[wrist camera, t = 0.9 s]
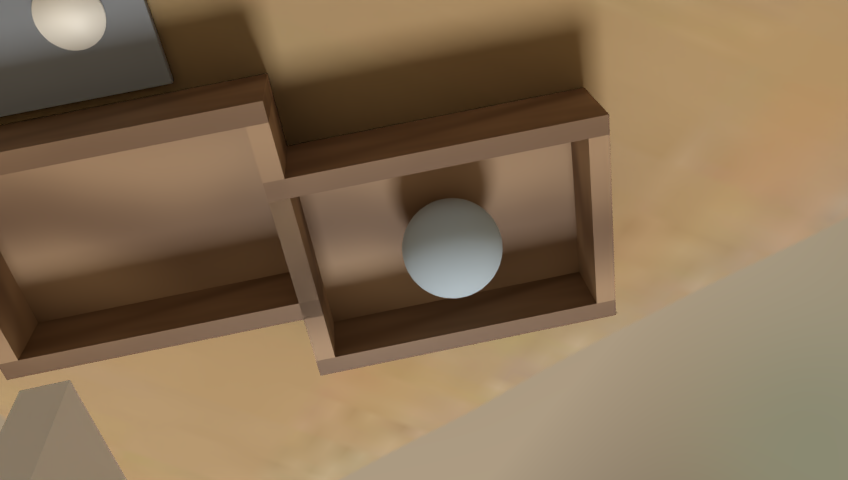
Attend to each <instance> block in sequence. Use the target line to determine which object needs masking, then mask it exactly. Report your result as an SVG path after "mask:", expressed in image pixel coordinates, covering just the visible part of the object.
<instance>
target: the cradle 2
mask: <svg viewBox="0 0 848 480" xmlns="http://www.w3.org/2000/svg"><path fill="white" fill-rule="evenodd" d="M263 186H264V189H265V193H266V195H267V199H268V200H269V201H268V202H269V204H272V205H271V206H273V207H271V206H270V205H269V206H270V209H271V212H273V213H274V214H272V216H274V215H275V212H276V213H277V210H278V209H279V210H278V213H277V214H278V215H277V214H276V217H275V219H274V217H273V219H274V222H276V220H277V218H278V217H279V216H280V217H279V218H281V221H280V219H279V218H278V220H277V223H275V224H276V225H275V226H276V229H277V231H278V230H279V235H278V236H279V238H280V242H281V246H282V245H283V246H282V249H283V252H284V256H285V259H287V260H286V262H287V266H288V269H289V271H290V273H291V274H290V276H291V279H292V282H293V281H295V283H296V285H297V287H296V285H295V284H293V285H295V286H294V287H295V288H294V289H295V291H296V292H297V291H298V290H299V289H297V288H300V292H297V294H296V295H297V299H299V297H298V296H300V299H299V302H300V303H299V305H300V304H301V303H302V302H303V303H302V304H301V306H300V309H302V308H303V309H302V310H301V312H303V310H304V313H305V314H304V313H303V314H302V315H303V319H304V317H305V319H304V322H305V325H306V329H307V332H308V335H309V339H310V342H311V345H312V349H313V352H314V355H315V359H316V362H317V365H318V369H319V372H320V375H326V374H331V373H336V372H341V371H346V370H350V369H355V368H360V367H365V366H370V365H375V364H380V363H384V362H389V361H394V360H399V359H404V358H409V357H414V356H418V355H423V354H428V353H433V352H438V351H443V350H448V349H452V348H457V347H462V346H467V345H472V344H477V343H482V342H486V341H491V340H496V339H501V338H506V337H511V336H516V335H521V334H525V333H530V332H535V331H540V330H545V329H550V328H555V327H559V326H564V325H569V324H574V323H579V322H584V321H589V320H593V319H598V318H603V317H608V316H613V315H616V302H615V274H614V245H613V216H612V187H611V158H610V129H609V114H608V113H607V112H606V111H605V110H604V109H603V107H602V106H601V105H600V104H599V103H598V102H597V101H596V100H595V99H594V98H593V97H592V96H591V95H590V93H589V92H588V91H587V90H586V89H585V88H579V89H574V90H569V91H564V92H559V93H554V94H549V95H544V96H539V97H534V98H529V99H524V100H519V101H513V102H508V103H503V104H498V105H493V106H488V107H483V108H478V109H473V110H468V111H463V112H458V113H453V114H448V115H443V116H438V117H432V118H427V119H422V120H417V121H412V122H407V123H402V124H397V125H392V126H387V127H382V128H377V129H372V130H367V131H362V132H357V133H352V134H346V135H341V136H336V137H331V138H326V139H321V140H316V141H311V142H306V143H301V144H296V145H291V146H287V155H286V168H285V179H282V180H280V182H279V180H277V181H272V182H267V183H263ZM270 186H271V187H270ZM274 186H275V187H274ZM284 186H285V187H284ZM276 187H277V188H276ZM286 188H287V189H286ZM281 193H282V194H281ZM285 194H286V195H285ZM272 196H273V197H272ZM285 197H286V198H285ZM446 198H459V199H464V200H468V201H471V202H473V203H475V204H477V205H479V206H480V207H482V208H483V209H484V210H485V211H486V212H488V213H489V214H490V215H491V217H492V218H493V219H494V221H495V223H496V224H497V226H498V228H499V231H500V234H501V238H502V247H503V252H502V258H501V262H500V266H499V268H498V270H497V272H496V274H495V276H494V277H493V278H492V280H491V281H490V282H489V283H488V284H487V285H486V286H485V287H484V288H482V289H481V290H479V291H478V292H476V293H474V294H472V295H469V296H466V297H462V298H443V297H439V296H435V295H433V294H431V293H429V292H427V291H425V290H424V289H422V288H421V287H420V286H419V285H418V284H417V283H416V282H415V281H414V280H413V279H412V277H411V276H410V274H409V273H408V271H407V269H406V266H405V263H404V260H403V254H402V242H403V237H404V233H405V230H406V228H407V226H408V224H409V222H410V221H411V219H412V218H413V216H414V215H415V214H416V213H417V212H418V211H419V210H420V209H422V208H423V207H425V206H426V205H428V204H430V203H432V202H434V201H437V200H440V199H446ZM277 199H278V200H277ZM285 199H287V200H285ZM281 200H282V206H281ZM284 200H285V201H286V202H285V201H284ZM289 200H291V201H290V202H288V201H289ZM275 201H276V203H275ZM277 202H278V206H279V207H278V206H276V205H277ZM284 202H285V203H286V204H285V203H284ZM273 203H274V204H273ZM291 203H292V204H291ZM283 204H284V205H283ZM280 206H281V207H280ZM291 206H292V207H291ZM276 207H277V208H276ZM284 207H285V208H284ZM290 207H291V208H290ZM272 208H273V209H272ZM292 208H293V211H292ZM274 209H275V211H273V210H274ZM280 209H281V212H282V213H281V212H279V211H280ZM282 209H283V210H282ZM284 210H285V213H283V212H284ZM288 210H289V211H288ZM291 211H292V213H290V212H291ZM287 212H288V213H287ZM293 212H294V213H293ZM279 213H280V215H279ZM289 214H290V218H289ZM293 214H294V218H293V217H292V216H293ZM281 215H283V216H281ZM285 215H287V216H286V219H285V221H284V218H285ZM277 216H278V217H277ZM291 218H292V220H291ZM282 219H283V220H282ZM287 219H288V220H289V221H287ZM295 219H296V220H295ZM294 220H295V222H294ZM279 221H280V225H279ZM286 221H287V224H286ZM290 222H291V225H294V223H295V225H294V226H292V229H290V228H291V225H290ZM282 223H283V224H284V225H283V224H282ZM296 223H297V225H296ZM281 224H282V227H281ZM285 224H286V226H285ZM277 226H278V227H277ZM279 226H280V229H281V231H280V229H278V228H279ZM287 226H288V227H287ZM289 226H290V227H289ZM295 226H296V229H295ZM285 227H286V228H285ZM283 228H284V230H283ZM287 228H288V229H287ZM297 228H298V230H297ZM285 229H286V230H287V231H286V230H285ZM293 229H294V232H293V236H292V231H293ZM290 230H291V232H290ZM297 231H298V232H297ZM288 232H289V234H288ZM296 232H297V233H296ZM284 233H286V235H285V234H284ZM299 233H300V234H299ZM295 234H296V236H297V237H296V236H295ZM280 235H281V237H280ZM282 235H285V236H286V237H285V236H284V238H283V236H282ZM298 235H299V236H300V237H299V236H298ZM287 236H288V239H287ZM294 236H295V237H294ZM293 237H294V239H293ZM285 238H286V242H288V243H286V242H285ZM297 238H298V242H297ZM281 239H282V241H281ZM289 239H290V240H289ZM301 239H302V240H301ZM283 240H284V241H283ZM287 240H288V241H287ZM295 240H296V243H295ZM299 240H300V241H299ZM289 242H291V243H289ZM292 242H294V243H295V246H294V243H293V244H292ZM299 242H300V243H299ZM301 242H302V243H301ZM297 243H298V244H299V245H298V244H297ZM284 244H285V245H284ZM286 244H287V248H286ZM290 244H291V246H290ZM301 244H303V245H301ZM292 245H293V247H292ZM288 246H289V248H290V249H289V248H288ZM296 246H297V249H296ZM283 247H284V248H283ZM300 247H301V248H300ZM303 247H304V248H303ZM291 248H295V249H294V250H293V249H292V253H291ZM287 249H289V251H288V252H287V251H286V250H287ZM295 250H296V253H295ZM298 250H300V251H298ZM297 251H298V252H299V253H298V252H297ZM301 251H302V253H303V254H301ZM285 252H286V253H287V256H286V254H285ZM289 253H291V255H290V254H289ZM293 253H294V256H293V255H292V254H293ZM305 253H306V255H305ZM289 255H290V256H291V257H290V256H289ZM296 255H298V256H297V257H296ZM303 255H304V256H303ZM288 256H289V257H288ZM300 256H301V258H300ZM295 257H296V258H295ZM298 257H299V259H298ZM306 257H307V258H306ZM288 258H289V260H288ZM304 258H305V259H304ZM294 259H295V260H294ZM301 259H302V260H303V261H302V260H301ZM293 260H294V262H293ZM306 260H307V261H306ZM291 261H292V262H291ZM295 261H296V262H295ZM299 261H300V262H299ZM304 261H305V262H306V264H305V263H304ZM297 262H298V264H297ZM290 263H291V264H290ZM303 263H304V265H303ZM294 264H296V267H294V266H295V265H294ZM299 264H300V268H301V267H302V269H303V270H302V269H301V272H300V268H298V267H299V266H297V265H299ZM305 265H306V266H307V268H306V269H305V274H304V268H305ZM292 266H293V267H292ZM290 267H291V270H290ZM293 268H296V269H295V271H294V269H293ZM309 268H310V270H308V269H309ZM297 270H298V271H297ZM292 271H293V272H292ZM296 271H297V273H296V274H295V273H294V272H296ZM307 271H308V272H309V274H308V272H307ZM299 273H300V274H301V275H299ZM302 274H303V275H302ZM306 274H308V275H306ZM310 274H311V275H310ZM309 275H310V276H309ZM297 276H298V277H297ZM301 276H302V277H301ZM303 276H304V277H305V278H306V279H307V277H308V280H310V281H311V283H310V284H311V285H309V286H310V288H308V289H307V286H308V285H307V284H308V282H310V281H308V280H306V279H305V278H303ZM311 276H312V279H311ZM292 277H293V278H292ZM295 277H296V278H295ZM299 278H301V279H299ZM302 279H305V281H304V280H303V281H302ZM300 280H301V281H300ZM319 280H320V281H321V282H320V283H321V286H320V287H321V288H322V287H323V290H322V291H323V314H322V309H321V306H320V308H319V304H320V302H319ZM297 281H299V282H300V285H298V282H297ZM312 281H314V282H312ZM306 282H307V284H306ZM293 283H294V282H293ZM312 283H313V284H314V285H313V288H314V290H312V289H313V288H312ZM303 284H306V285H305V288H304V290H303ZM322 285H323V286H322ZM300 286H301V287H300ZM309 286H308V287H309ZM307 290H308V292H309V291H310V292H311V291H312V292H313V294H312V293H310V292H309V295H308V293H307ZM302 291H304V293H305V295H304V293H302ZM315 291H316V293H315ZM302 294H303V296H304V298H303V297H302ZM310 294H311V297H310ZM314 294H315V298H314ZM306 295H307V296H306ZM312 295H313V297H312ZM306 297H307V298H306ZM310 298H312V299H310ZM301 299H303V301H302V302H301ZM309 299H310V300H309ZM316 299H318V301H316ZM307 300H308V302H309V305H308V306H306V305H307ZM311 300H312V301H313V300H314V301H313V302H312V301H311ZM315 301H316V302H317V303H318V305H317V304H316V302H315ZM304 302H305V303H304ZM313 303H314V304H313ZM304 304H306V305H304ZM310 304H312V305H310ZM303 306H304V307H303ZM312 306H313V307H312ZM314 306H315V308H314ZM305 307H306V308H305ZM309 307H310V308H309ZM311 307H312V308H311ZM316 308H317V309H316ZM307 309H309V310H310V309H313V310H311V311H309V310H308V311H305V310H307ZM314 309H315V311H314ZM318 309H319V311H320V312H321V313H320V314H319V311H318ZM312 312H313V313H312ZM314 312H315V313H317V314H315V313H314ZM311 314H312V315H311ZM318 315H319V316H318ZM306 316H307V318H308V319H307V318H306ZM310 316H311V317H312V318H310ZM314 316H315V317H314ZM317 316H318V317H317Z"/></svg>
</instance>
